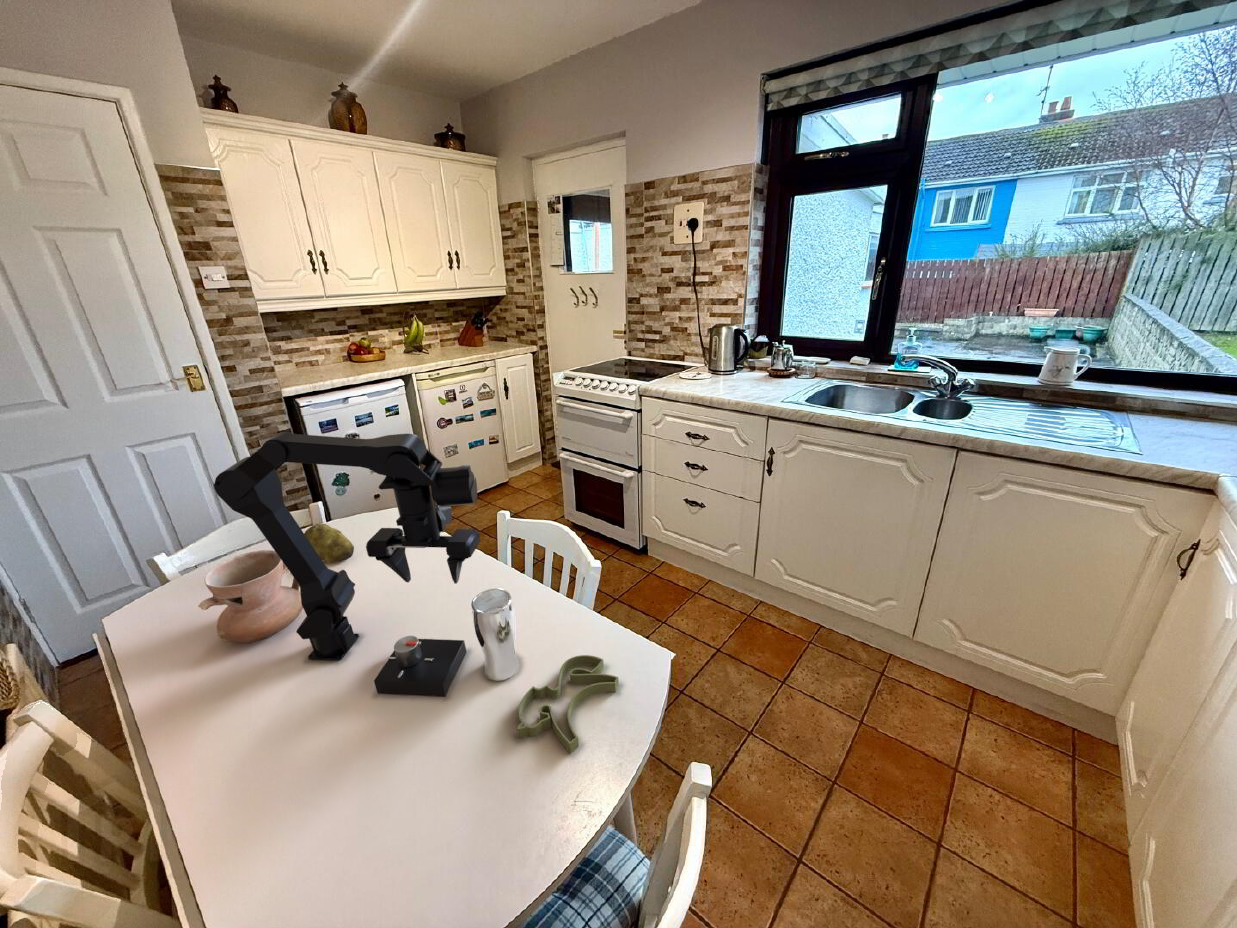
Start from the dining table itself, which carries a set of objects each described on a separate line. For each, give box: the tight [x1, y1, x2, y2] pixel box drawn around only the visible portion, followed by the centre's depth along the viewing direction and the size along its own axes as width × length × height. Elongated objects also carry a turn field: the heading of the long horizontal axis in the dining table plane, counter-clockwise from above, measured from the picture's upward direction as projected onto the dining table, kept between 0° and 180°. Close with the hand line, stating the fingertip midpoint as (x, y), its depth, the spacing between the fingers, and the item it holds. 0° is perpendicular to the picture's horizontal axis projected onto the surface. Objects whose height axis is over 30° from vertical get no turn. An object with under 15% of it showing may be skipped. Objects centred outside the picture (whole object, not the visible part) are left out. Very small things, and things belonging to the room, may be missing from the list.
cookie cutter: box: [517, 654, 620, 754], centre depth 80 cm, size 18×12×2 cm, turn 149°
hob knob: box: [393, 635, 422, 668], centre depth 85 cm, size 4×4×4 cm
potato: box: [303, 523, 355, 563], centre depth 120 cm, size 8×13×8 cm, turn 49°
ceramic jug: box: [197, 549, 304, 644], centre depth 97 cm, size 18×14×14 cm
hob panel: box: [373, 638, 467, 698], centre depth 86 cm, size 12×10×3 cm
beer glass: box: [470, 587, 520, 682], centre depth 84 cm, size 7×7×15 cm
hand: (432, 581), depth 90 cm, fingers open, 9 cm apart
